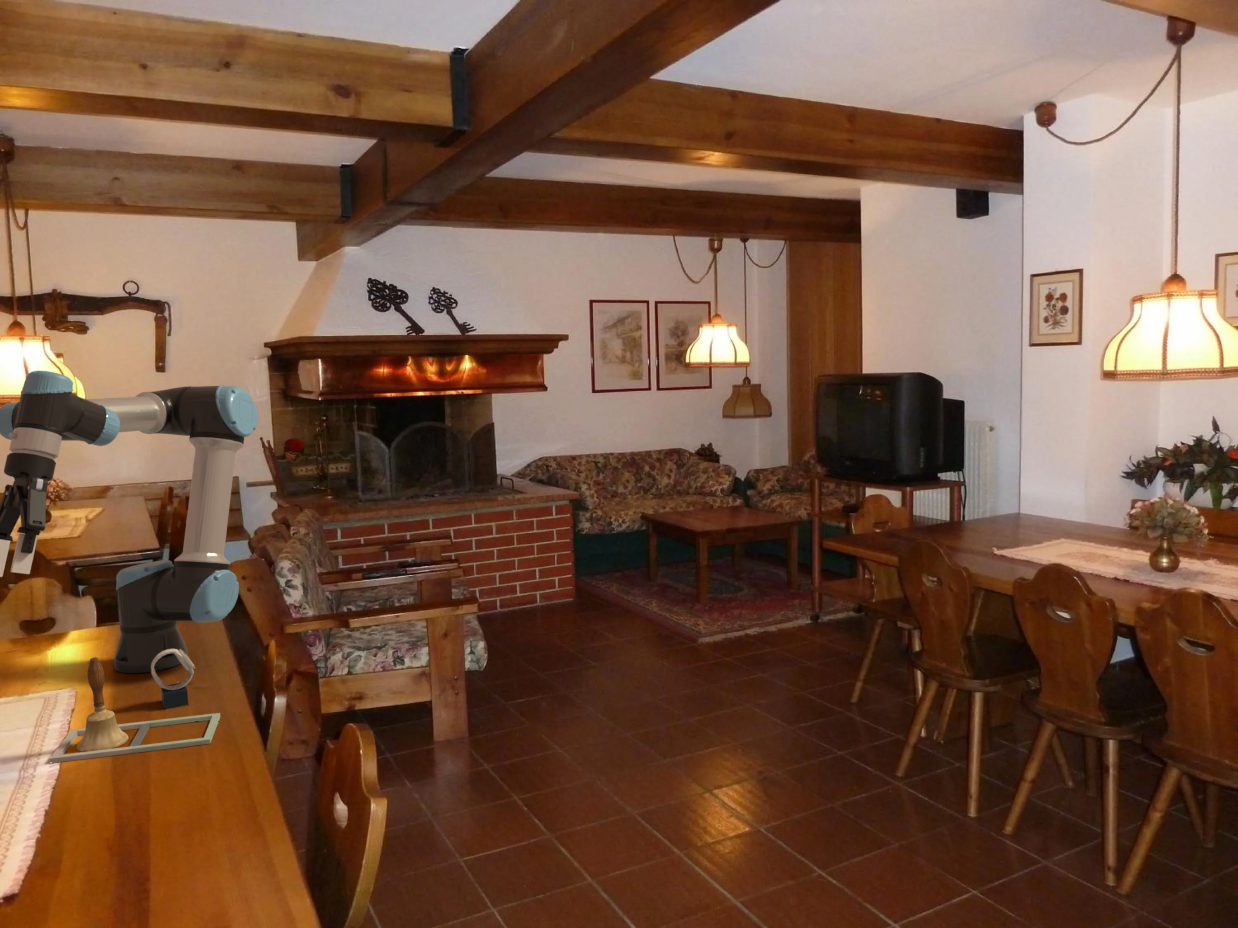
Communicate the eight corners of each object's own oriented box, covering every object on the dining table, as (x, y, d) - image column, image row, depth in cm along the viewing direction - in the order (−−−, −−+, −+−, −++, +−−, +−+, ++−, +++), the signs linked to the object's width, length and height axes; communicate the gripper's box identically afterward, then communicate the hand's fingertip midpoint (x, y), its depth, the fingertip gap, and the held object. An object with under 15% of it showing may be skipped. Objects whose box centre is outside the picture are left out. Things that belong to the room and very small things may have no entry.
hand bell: (105, 754, 164) (98, 666, 162) (65, 751, 165) (57, 664, 164) (139, 735, 172) (132, 651, 170) (100, 732, 173) (93, 649, 172)
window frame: (72, 733, 173) (71, 729, 173) (220, 716, 180) (220, 712, 180) (49, 763, 160) (49, 758, 160) (210, 743, 167) (210, 739, 167)
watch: (199, 702, 188) (195, 649, 187) (154, 711, 184) (150, 657, 182) (195, 694, 193) (191, 643, 191) (152, 702, 188) (148, 649, 187)
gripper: (-15, 459, 172) (-42, 573, 167) (34, 442, 156) (6, 568, 151) (30, 468, 177) (6, 579, 172) (82, 452, 161) (56, 574, 156)
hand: (6, 574), depth 161 cm, fingers open, 13 cm apart
